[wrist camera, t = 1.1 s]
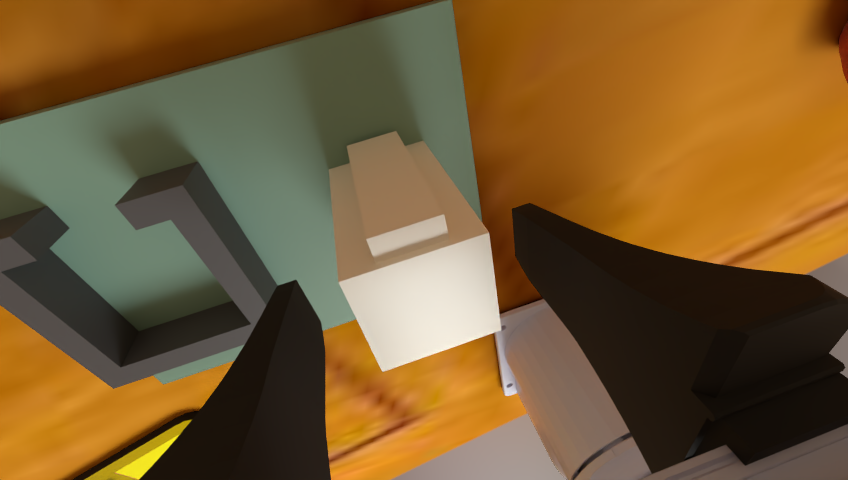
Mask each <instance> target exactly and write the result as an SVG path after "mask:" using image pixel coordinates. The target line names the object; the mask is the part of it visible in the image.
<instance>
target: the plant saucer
mask: <svg viewBox="0 0 848 480" xmlns="http://www.w3.org/2000/svg"><path fill="white" fill-rule="evenodd" d="M839 53H840V57H841V62H842V68H843V73H844V75H845V78H846V81H847V83H848V21H847V23H846V25H845V27H844V29H843V31H842V33H841V35H840V38H839Z"/></svg>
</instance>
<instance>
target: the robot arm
mask: <svg viewBox="0 0 848 480" xmlns="http://www.w3.org/2000/svg"><path fill="white" fill-rule="evenodd" d="M512 216H513V230H514V243H515V256H516V258H517V260H518V261H519V263H520V265H521V267H522V269H523V270H524V272H525V274H526V275H527V277H528V279H529V280H530V282H531V283H532V284H533V286H534V287H535V288H536V289H537V291H538V292H539V293H540V295H541V296H542V297H543V298H544V299H542V300H539V301H536V302H533V303H530V304H527V305H525V306H522V307H519V308H516V309H513V310H510V311H507V312H504V313H502V314H499V315H500V323H501V331H498V332H495V333H494V335H495V342H496V348H497V355H498V362H499V369H500V376H501V383H502V390H503V392H504V394H505V395H506V396H510V395H513V394H516V393H518V395H519V397H520V399H521V401H522V403H523V405H524V407H525V409H526V411H527V413H528V415H529V417H530V419H531V421H532V423H533V425H534V427H535V429H536V431H537V433H538V435H539V436H540V438H541V441H542V443H543V445H544V447H545V449H546V451H547V452H548V454H549V457H550V459H551V461H552V462H553V464H554V466H555V467H556V469H557V470H558V471H559V472H560V474H561V475H562V476H563V477H564V478H565V479H566V480H848V378H846V377H845V376H844V375H842V374H841V373H840V372H841V371H843V370H844V368H845V366H844V364H843V363H842V362H840V361H839V360H838V359H836V358H835V357H833V356H832V355H831V354H829V352H830V351H831V350H832V348H833V347H834V346H835V345H836V343H837V342H838V341H839V340H840V338H841V337H842V336H843V335H844V333H845V332H846V331H847V330H848V297H846V296H845V295H843V294H841V293H839V292H838V291H836V290H834V289H833V288H831V287H829V286H828V285H826V284H824V283H822V282H821V281H819V280H817V279H816V278H814V277H812V276H810V275H803V274H793V273H783V272H773V271H763V270H754V269H746V268H740V267H733V266H726V265H720V264H714V263H708V262H703V261H697V260H693V259H688V258H683V257H679V256H674V255H670V254H666V253H662V252H658V251H654V250H650V249H647V248H643V247H640V246H636V245H633V244H630V243H627V242H623V241H620V240H618V239H615V238H612V237H609V236H607V235H604V234H601V233H598V232H596V231H593V230H591V229H588V228H586V227H583V226H581V225H579V224H576V223H574V222H571V221H569V220H567V219H565V218H562V217H560V216H558V215H556V214H553V213H551V212H549V211H547V210H545V209H542V208H540V207H538V206H535V205H533V204H530V203H528V204H525V205H522V206H519V207H516V208H513V209H512ZM139 480H331V476H330V468H329V459H328V449H327V439H326V425H325V346H324V338H323V331H322V324H321V321H320V319H319V317H318V315H317V314H316V312H315V310H314V309H313V307H312V305H311V304H310V302H309V300H308V299H307V297H306V295H305V293H304V292H303V290H302V288H301V287H300V285H299V283H298V282H297V280H293V281H290V282H287V283H284V284H281V285H278V286H277V287H276V289H275V291H274V292H273V294H272V296H271V298H270V300H269V302H268V303H267V305H266V307H265V309H264V311H263V313H262V315H261V316H260V318H259V320H258V322H257V324H256V326H255V327H254V329H253V331H252V333H251V335H250V336H249V338H248V340H247V342H246V343H245V345H244V346H243V348H242V350H241V351H240V353H239V355H238V356H237V358H236V359H235V361H234V363H233V364H232V366H231V367H230V369H229V371H228V372H227V374H226V375H225V377H224V378H223V379H222V381H221V382H220V384H219V385H218V387H217V388H216V389H215V391H214V392H213V393H212V395H211V396H210V397H209V399H208V400H207V401H206V403H205V404H204V406H203V407H202V408H201V409H200V411H199V412H198V413H197V414H196V416H195V417H194V418H193V419H192V420H191V422H190V423H189V424H188V425H187V426H186V428H185V429H184V430H183V431H182V432H181V434H180V435H179V436H178V437H177V438H176V440H175V441H174V442H173V443H172V444H171V445H170V447H169V448H168V449H167V450H166V451H165V452H164V453H163V454H162V455H161V457H160V458H159V459H158V460H157V461H156V462H155V463H154V464H153V465H152V466H151V468H150V469H149V470H148V471H147V472H146V473H145V474H144V475H143V476H142V477H141V478H140V479H139Z"/></svg>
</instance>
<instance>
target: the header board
mask: <svg viewBox="0 0 848 480" xmlns="http://www.w3.org/2000/svg"><path fill="white" fill-rule="evenodd" d="M394 131H397V133H398V135H399V137H400V138H401V140H402V142H403V144H404V145H405V146H407V145H410V144H414V143H417V142H420V141H424V142H425V144H426V145H427V146H428V148H429V149H430V151H431V152H432V153H433V155H434V156H435V158H436V159H437V160H438V162H439V163H440V165H441V166H442V167H443V169H444V170H445V172H446V173H447V174H448V176H449V177H450V179H451V180H452V181H453V183H454V184H455V186H456V187H457V188H458V190H459V191H460V193H461V194H462V195H463V197H464V198H465V200H466V201H467V202H468V204H469V205H470V207H471V208H472V209H473V211H474V212H475V213H476V215H477V216H478V218H479V219H480V220H481V222H482V216H481V208H480V201H479V194H478V187H477V179H476V172H475V165H474V157H473V150H472V143H471V136H470V128H469V121H468V114H467V106H466V99H465V92H464V84H463V77H462V70H461V63H460V55H459V48H458V41H457V33H456V26H455V19H454V12H453V4H452V0H435V1H432V2H428V3H425V4H421V5H417V6H414V7H410V8H406V9H403V10H399V11H396V12H392V13H388V14H385V15H381V16H378V17H374V18H370V19H367V20H363V21H359V22H356V23H352V24H349V25H345V26H341V27H338V28H334V29H331V30H327V31H323V32H320V33H316V34H312V35H309V36H305V37H302V38H298V39H294V40H291V41H287V42H283V43H280V44H276V45H273V46H269V47H265V48H262V49H258V50H255V51H251V52H247V53H244V54H240V55H236V56H233V57H229V58H226V59H222V60H218V61H215V62H211V63H208V64H204V65H200V66H197V67H193V68H189V69H186V70H182V71H179V72H175V73H171V74H168V75H164V76H161V77H157V78H153V79H150V80H146V81H142V82H139V83H135V84H132V85H128V86H124V87H121V88H117V89H114V90H110V91H106V92H103V93H99V94H95V95H92V96H88V97H85V98H81V99H77V100H74V101H70V102H66V103H63V104H59V105H56V106H52V107H48V108H45V109H41V110H38V111H34V112H30V113H27V114H23V115H19V116H16V117H12V118H9V119H5V120H1V121H0V305H1V306H2V307H4V308H5V309H6V310H8V311H9V312H10V313H12V314H13V315H15V316H16V317H17V318H19V319H20V320H21V321H23V322H24V323H25V324H27V325H28V326H29V327H31V328H32V329H34V330H35V331H36V332H38V333H39V334H40V335H42V336H43V337H44V338H46V339H47V340H48V341H50V342H51V343H52V344H54V345H55V346H57V347H58V348H59V349H61V350H62V351H63V352H65V353H66V354H67V355H69V356H70V357H71V358H73V359H74V360H75V361H77V362H78V363H80V364H81V365H82V366H84V367H85V368H86V369H88V370H89V371H90V372H92V373H93V374H94V375H96V376H97V377H99V378H100V379H101V380H103V381H104V382H105V383H107V384H108V385H109V386H111V387H112V388H113V389H114V388H117V387H120V386H123V385H126V384H129V383H132V382H135V381H138V380H141V379H144V378H147V377H150V376H152V375H153V376H154V377H155V378H157V379H158V380H159V381H160V382H161V383H163V384H166V383H169V382H172V381H175V380H178V379H181V378H184V377H187V376H190V375H193V374H196V373H199V372H202V371H205V370H208V369H211V368H214V367H216V366H219V365H222V364H225V363H228V362H231V361H234V360H235V359H236V358H237V356H238V355H239V353H240V351H241V350H242V348H243V346H244V345H245V343H246V342H247V340H248V338H249V336H250V335H251V333H252V331H253V329H254V327H255V326H256V324H257V322H258V320H259V318H260V316H261V315H262V313H263V311H264V309H265V307H266V305H267V303H268V302H269V300H270V298H271V296H272V294H273V292H274V291H275V289H276V287H277V286H278V285H281V284H284V283H287V282H290V281H293V280H297V282H298V283H299V285H300V287H301V288H302V290H303V292H304V293H305V295H306V297H307V299H308V300H309V302H310V304H311V305H312V307H313V309H314V310H315V312H316V314H317V315H318V317H319V319H320V321H321V324H322V331H323V330H326V329H329V328H332V327H335V326H338V325H341V324H344V323H347V322H349V321H352V320H355V319H356V317H355V315H354V313H353V311H352V309H351V307H350V305H349V303H348V301H347V299H346V297H345V295H344V293H343V291H342V289H341V287H340V285H339V282H338V272H337V260H336V249H335V237H334V225H333V214H332V202H331V191H330V179H329V169H332V168H335V167H338V166H342V165H345V164H348V163H350V160H349V155H348V150H347V146H348V145H351V144H354V143H358V142H361V141H364V140H368V139H371V138H374V137H377V136H381V135H384V134H387V133H391V132H394Z"/></svg>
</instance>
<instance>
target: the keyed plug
mask: <svg viewBox="0 0 848 480" xmlns="http://www.w3.org/2000/svg"><path fill="white" fill-rule="evenodd" d="M347 150H348V155H349V160H350V163H348V164H345V165H342V166H338V167H335V168H332V169H329V179H330V191H331V202H332V214H333V225H334V237H335V249H336V260H337V272H338V282H339V285H340V287H341V289H342V291H343V293H344V295H345V297H346V299H347V301H348V303H349V305H350V307H351V309H352V311H353V313H354V315H355V317H356V319H357V321H358V323H359V325H360V327H361V329H362V331H363V333H364V335H365V337H366V339H367V341H368V343H369V345H370V347H371V349H372V351H373V354H374V356H375V358H376V360H377V362H378V364H379V366H380V368H381V370H382V372H384V371H387V370H390V369H392V368H395V367H398V366H401V365H404V364H407V363H409V362H412V361H415V360H418V359H421V358H424V357H427V356H429V355H432V354H435V353H438V352H441V351H444V350H446V349H449V348H452V347H455V346H458V345H461V344H464V343H466V342H469V341H472V340H475V339H478V338H481V337H483V336H486V335H489V334H492V333H495V332H498V331H501V323H500V315H499V307H498V299H497V291H496V283H495V275H494V267H493V259H492V251H491V243H490V235H489V232H488V230H487V229H486V227H485V226H484V225H483V223H482V222H481V220H480V219H479V218H478V216H477V215H476V213H475V212H474V211H473V209H472V208H471V207H470V205H469V204H468V202H467V201H466V200H465V198H464V197H463V195H462V194H461V193H460V191H459V190H458V188H457V187H456V186H455V184H454V183H453V181H452V180H451V179H450V177H449V176H448V174H447V173H446V172H445V170H444V169H443V167H442V166H441V165H440V163H439V162H438V160H437V159H436V158H435V156H434V155H433V153H432V152H431V151H430V149H429V148H428V146H427V145H426V144H425V142H424V141H420V142H417V143H414V144H410V145H407V146H405V145H404V144H403V142H402V140H401V138H400V137H399V135H398V133H397V131H394V132H391V133H387V134H384V135H381V136H377V137H374V138H371V139H368V140H364V141H361V142H358V143H354V144H351V145H348V146H347Z"/></svg>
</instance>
